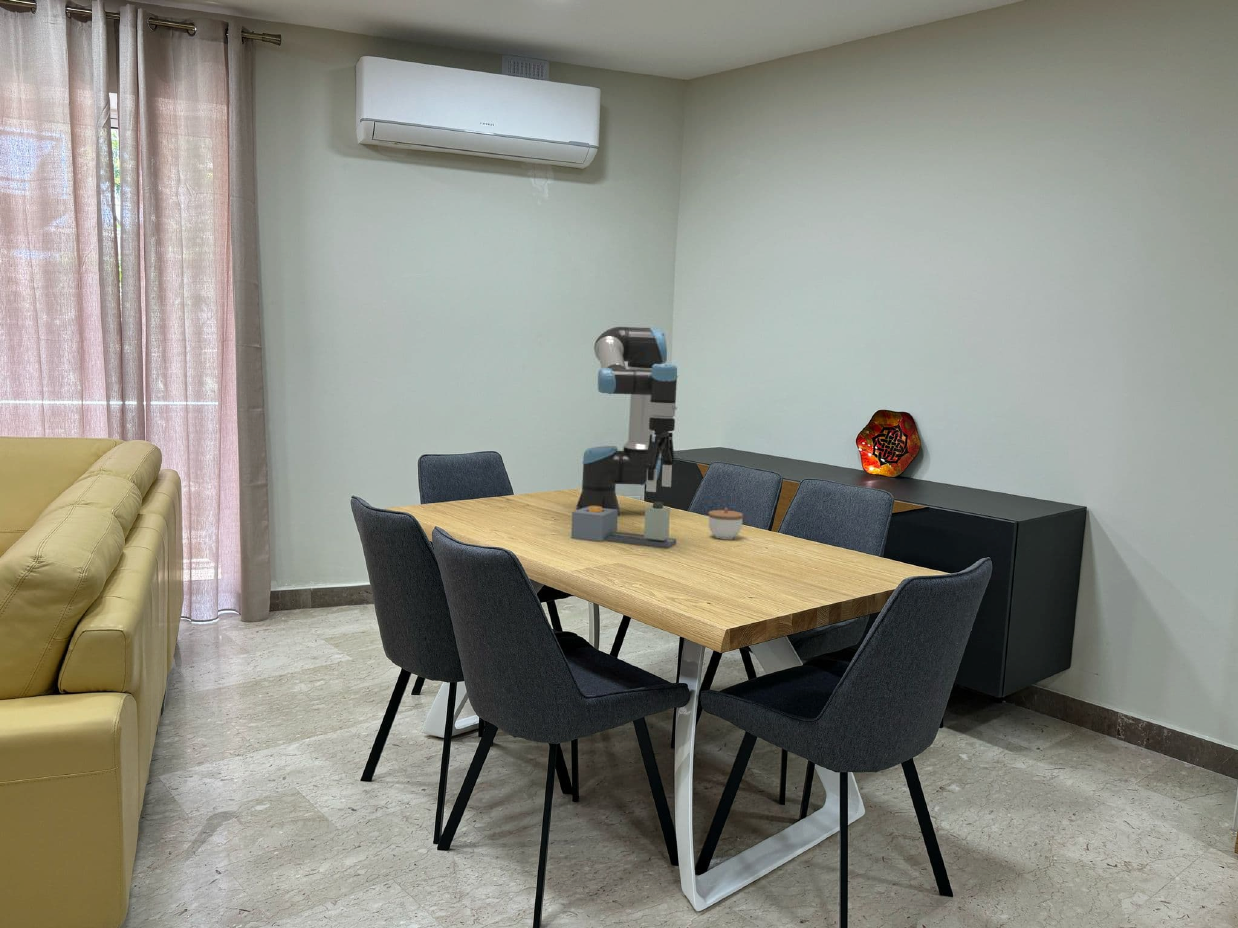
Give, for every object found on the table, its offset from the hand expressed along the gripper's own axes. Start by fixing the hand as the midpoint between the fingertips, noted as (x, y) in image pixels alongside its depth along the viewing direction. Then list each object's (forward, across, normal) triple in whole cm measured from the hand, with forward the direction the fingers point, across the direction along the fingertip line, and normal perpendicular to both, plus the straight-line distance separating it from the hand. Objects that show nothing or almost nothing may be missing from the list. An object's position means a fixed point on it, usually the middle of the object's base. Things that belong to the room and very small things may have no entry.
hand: (658, 489), depth 277 cm
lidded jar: (+17, +22, -15) cm, 32 cm away
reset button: (+13, 0, +20) cm, 24 cm away
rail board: (+17, 0, +5) cm, 17 cm away
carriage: (+15, 0, 0) cm, 15 cm away
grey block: (+16, 0, +20) cm, 26 cm away
